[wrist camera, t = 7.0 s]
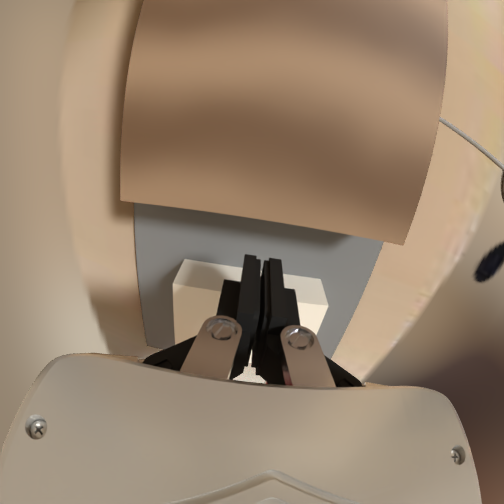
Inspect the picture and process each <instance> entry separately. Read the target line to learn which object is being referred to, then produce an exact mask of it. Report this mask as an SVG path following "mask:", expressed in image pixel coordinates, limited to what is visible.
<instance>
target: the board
mask: <svg viewBox="0 0 504 504" xmlns="http://www.w3.org/2000/svg"><path fill="white" fill-rule="evenodd" d="M447 49H448V6H447V0H143V4H142V8H141V11H140V15H139V19H138V23H137V28H136V32H135V37H134V41H133V46H132V52H131V57H130V63H129V69H128V76H127V83H126V90H125V99H124V109H123V120H122V134H121V156H120V201H126V202H135V203H144V204H152V205H161V206H169V207H177V208H184V209H192V210H199V211H207V212H214V213H221V214H228V215H235V216H241V217H248V218H254V219H261V220H267V221H273V222H280V223H286V224H292V225H297V226H303V227H309V228H315V229H320V230H326V231H332V232H337V233H342V234H348V235H353V236H358V237H364V238H369V239H374V240H379V241H384V242H389V243H394V244H398V245H404V242H405V240H406V237H407V234H408V232H409V229H410V226H411V223H412V220H413V218H414V215H415V212H416V209H417V206H418V203H419V199H420V196H421V193H422V190H423V186H424V183H425V179H426V176H427V172H428V168H429V164H430V161H431V157H432V152H433V148H434V144H435V139H436V134H437V129H438V124H439V119H440V113H441V107H442V100H443V93H444V85H445V76H446V65H447Z"/></svg>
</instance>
